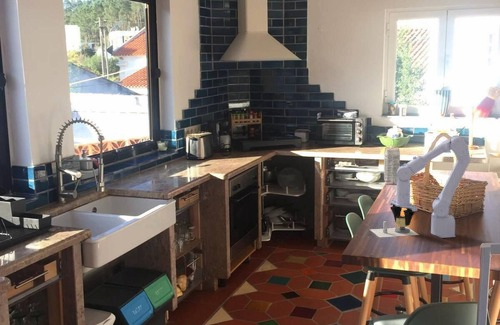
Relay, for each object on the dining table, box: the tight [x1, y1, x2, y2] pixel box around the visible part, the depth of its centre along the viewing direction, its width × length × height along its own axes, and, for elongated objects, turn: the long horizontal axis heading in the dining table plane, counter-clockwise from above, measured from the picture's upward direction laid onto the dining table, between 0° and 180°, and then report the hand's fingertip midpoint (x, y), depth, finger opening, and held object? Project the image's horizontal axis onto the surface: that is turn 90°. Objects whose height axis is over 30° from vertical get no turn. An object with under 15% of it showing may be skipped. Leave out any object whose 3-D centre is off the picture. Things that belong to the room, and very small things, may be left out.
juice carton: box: [383, 144, 401, 185], centre depth 350 cm, size 9×8×24 cm
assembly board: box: [369, 220, 420, 238], centre depth 247 cm, size 18×12×6 cm, turn 98°
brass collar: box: [395, 215, 410, 228], centre depth 247 cm, size 5×5×4 cm
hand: (402, 223), depth 247 cm, fingers closed on brass collar, 5 cm apart
